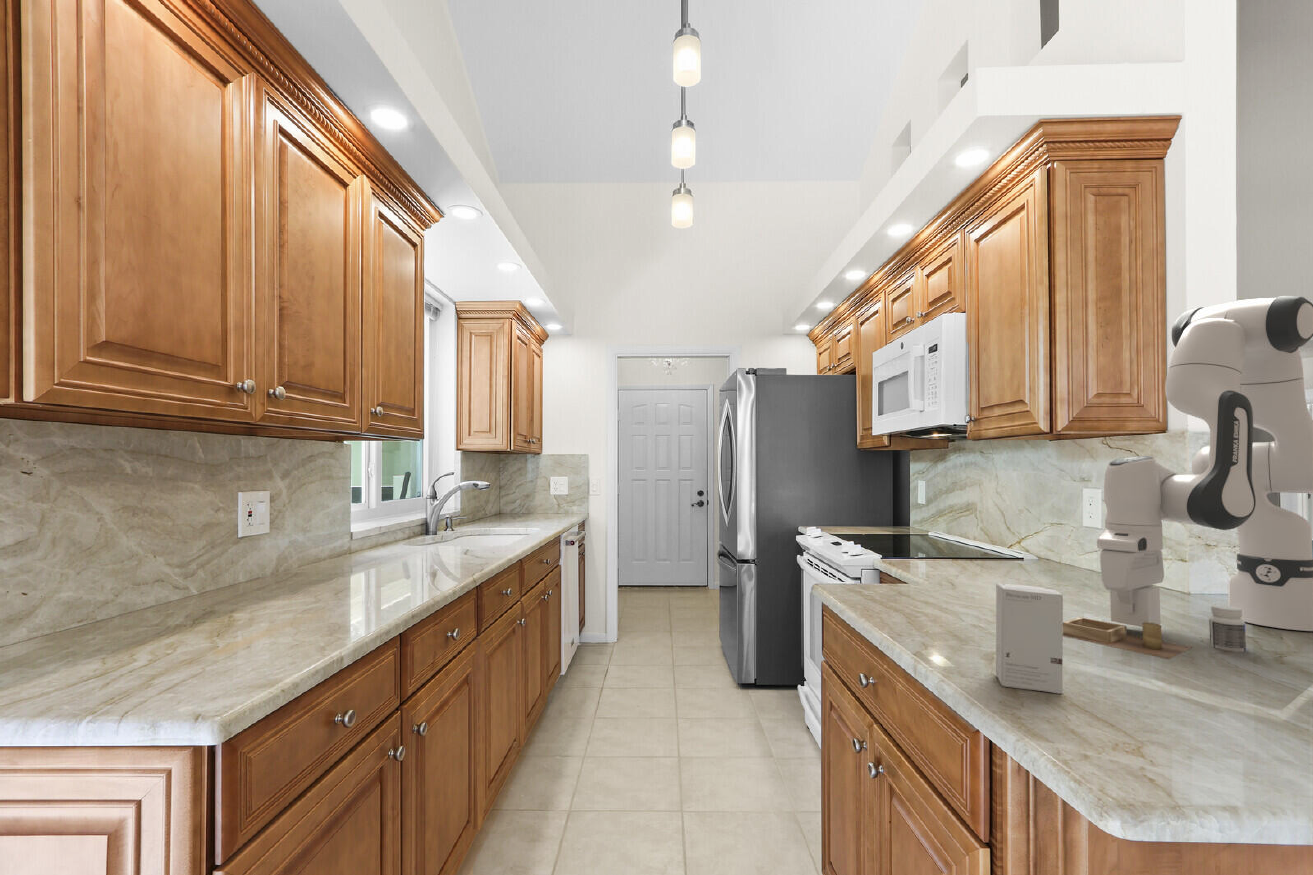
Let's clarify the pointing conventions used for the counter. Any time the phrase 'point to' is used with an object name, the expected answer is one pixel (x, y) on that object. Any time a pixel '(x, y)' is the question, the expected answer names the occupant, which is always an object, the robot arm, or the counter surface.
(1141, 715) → the counter surface
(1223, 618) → the pill bottle
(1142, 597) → the block
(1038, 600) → the skincare box
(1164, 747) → the counter surface
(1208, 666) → the counter surface
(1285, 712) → the counter surface
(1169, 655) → the board
